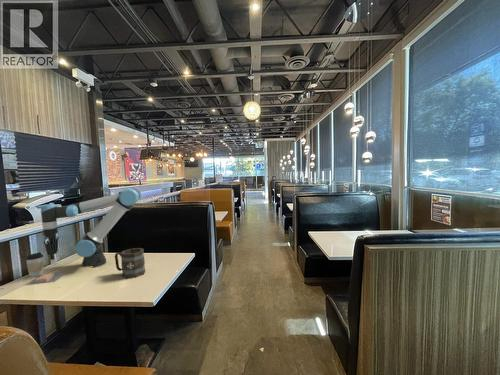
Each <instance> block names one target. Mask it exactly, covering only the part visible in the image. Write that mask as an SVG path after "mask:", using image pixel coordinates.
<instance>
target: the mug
mask: <svg viewBox="0 0 500 375" xmlns="http://www.w3.org/2000/svg"><path fill="white" fill-rule="evenodd" d="M144 250H145V249H144V248H142V247H136V248H135V247H134V248H129V249H124V250H122V251H118V252H116V253H115V254H114V260H115V267H116V269H117V271H119V272H120V271H121V272H122V278H124V279H133V278H134V279H136V278H140V277H142V276H144V275H145V273H146V268H145V262H146V261H145V254H144ZM118 255H119V256H120V257H121V268H120V264H119V259H118V258H119V257H118Z"/></svg>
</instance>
